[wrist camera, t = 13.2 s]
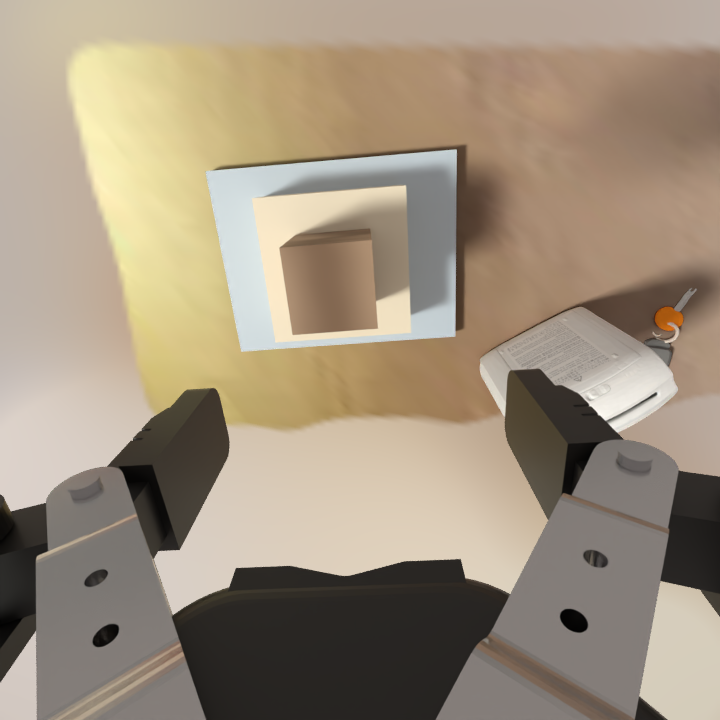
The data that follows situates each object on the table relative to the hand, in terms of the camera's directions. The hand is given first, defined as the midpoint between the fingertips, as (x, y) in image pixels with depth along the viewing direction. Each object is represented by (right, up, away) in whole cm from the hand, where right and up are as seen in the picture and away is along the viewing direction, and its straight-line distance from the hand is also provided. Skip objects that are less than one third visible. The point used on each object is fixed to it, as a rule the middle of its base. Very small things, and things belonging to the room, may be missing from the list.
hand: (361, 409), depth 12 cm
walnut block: (-2, +8, +18) cm, 19 cm away
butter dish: (-2, +10, +22) cm, 24 cm away
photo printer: (+15, +2, +25) cm, 30 cm away
